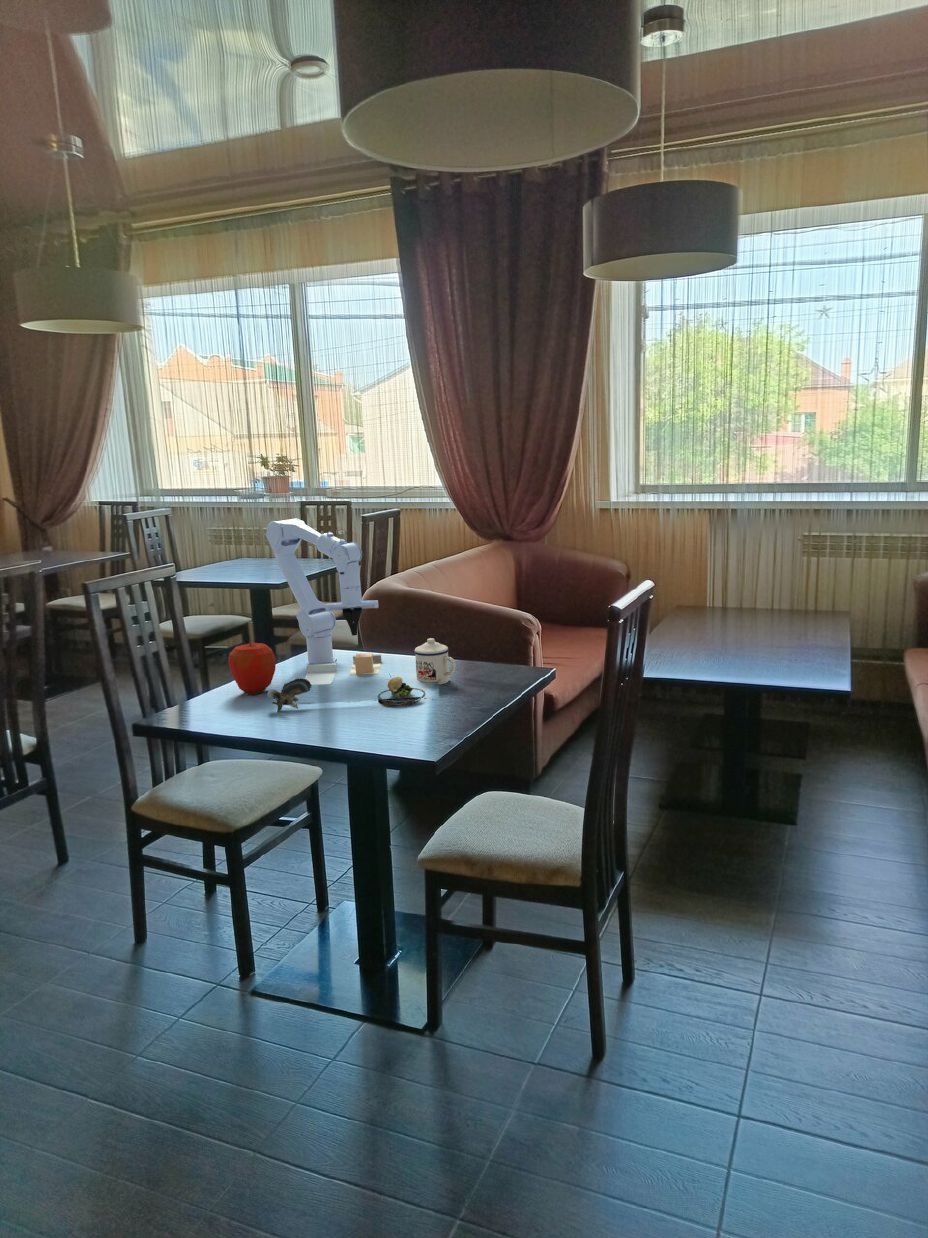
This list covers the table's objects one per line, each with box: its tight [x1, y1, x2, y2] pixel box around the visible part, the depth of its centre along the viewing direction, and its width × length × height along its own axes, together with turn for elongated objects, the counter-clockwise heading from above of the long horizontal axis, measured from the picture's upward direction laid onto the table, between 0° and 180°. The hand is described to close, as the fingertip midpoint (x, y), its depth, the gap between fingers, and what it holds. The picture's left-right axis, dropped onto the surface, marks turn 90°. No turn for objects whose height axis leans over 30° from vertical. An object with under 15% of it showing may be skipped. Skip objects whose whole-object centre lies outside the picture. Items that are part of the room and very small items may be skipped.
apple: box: [227, 640, 277, 696], centre depth 227 cm, size 12×12×14 cm
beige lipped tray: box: [348, 653, 382, 676], centre depth 244 cm, size 14×8×3 cm, turn 2°
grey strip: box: [304, 662, 338, 686], centre depth 236 cm, size 14×8×3 cm, turn 2°
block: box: [354, 652, 374, 674], centre depth 240 cm, size 4×4×4 cm
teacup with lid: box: [413, 637, 457, 686], centre depth 229 cm, size 12×9×12 cm
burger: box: [377, 673, 426, 708], centre depth 215 cm, size 12×12×8 cm
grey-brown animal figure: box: [267, 677, 313, 713], centre depth 214 cm, size 8×8×10 cm
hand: (354, 634), depth 244 cm, fingers closed
